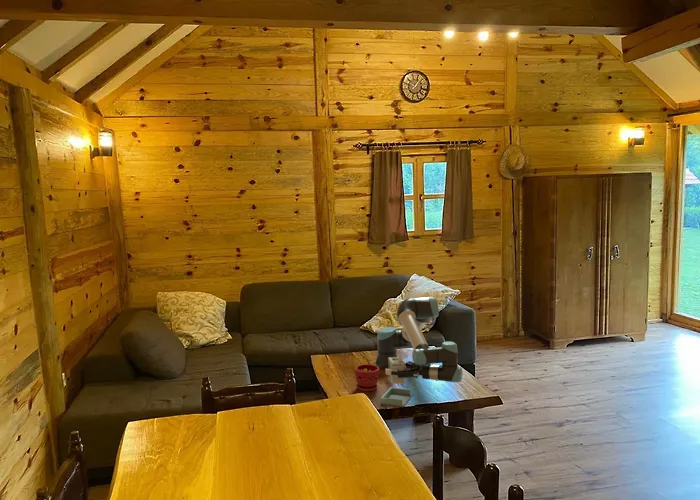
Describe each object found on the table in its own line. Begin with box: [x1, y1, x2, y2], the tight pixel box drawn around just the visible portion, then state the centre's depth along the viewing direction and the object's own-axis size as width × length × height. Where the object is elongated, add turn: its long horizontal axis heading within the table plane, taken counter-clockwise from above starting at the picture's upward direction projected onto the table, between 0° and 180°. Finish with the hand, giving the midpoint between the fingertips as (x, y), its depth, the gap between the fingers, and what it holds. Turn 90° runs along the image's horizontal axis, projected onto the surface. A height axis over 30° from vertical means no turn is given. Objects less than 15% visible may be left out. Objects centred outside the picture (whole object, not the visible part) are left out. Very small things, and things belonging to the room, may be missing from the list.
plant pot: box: [354, 363, 380, 392], centre depth 282 cm, size 13×13×12 cm
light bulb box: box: [388, 356, 405, 385], centre depth 264 cm, size 11×7×11 cm, turn 6°
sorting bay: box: [380, 387, 413, 408], centre depth 266 cm, size 12×16×3 cm
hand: (389, 367), depth 266 cm, fingers closed on light bulb box, 12 cm apart
